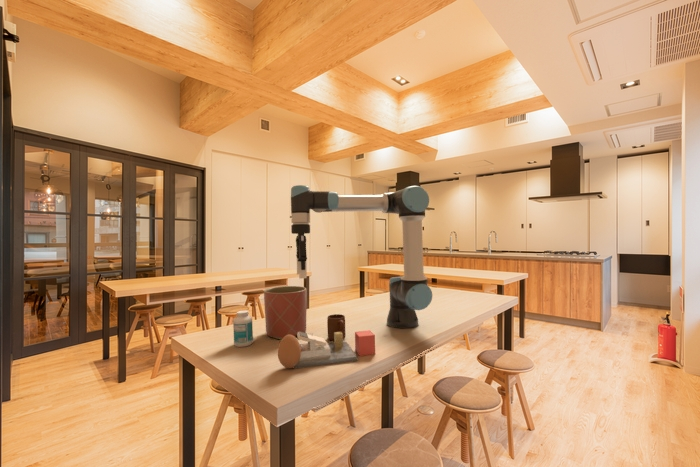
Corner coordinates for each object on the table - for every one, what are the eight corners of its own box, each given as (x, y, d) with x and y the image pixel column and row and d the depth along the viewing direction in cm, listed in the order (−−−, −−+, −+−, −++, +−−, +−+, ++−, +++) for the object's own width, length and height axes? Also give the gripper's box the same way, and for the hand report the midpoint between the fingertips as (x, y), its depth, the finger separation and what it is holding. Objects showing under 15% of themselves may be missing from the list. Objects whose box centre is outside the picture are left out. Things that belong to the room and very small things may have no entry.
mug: (352, 342, 129) (351, 319, 129) (334, 345, 126) (334, 322, 126) (341, 334, 140) (341, 313, 140) (325, 337, 137) (324, 315, 137)
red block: (370, 348, 122) (369, 330, 122) (375, 354, 116) (374, 334, 116) (355, 350, 121) (354, 331, 121) (359, 355, 115) (359, 336, 115)
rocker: (323, 341, 117) (324, 337, 117) (325, 346, 111) (326, 342, 111) (296, 334, 114) (298, 330, 114) (298, 339, 109) (299, 335, 109)
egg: (300, 371, 102) (299, 337, 102) (276, 373, 101) (275, 339, 102) (302, 362, 110) (301, 330, 110) (279, 363, 109) (279, 331, 109)
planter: (277, 343, 130) (276, 295, 131) (257, 333, 145) (256, 289, 145) (315, 333, 143) (314, 289, 143) (293, 325, 157) (292, 284, 157)
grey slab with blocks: (346, 345, 126) (346, 325, 126) (357, 360, 111) (356, 337, 111) (290, 351, 121) (289, 330, 121) (293, 368, 105) (292, 344, 105)
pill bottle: (247, 340, 136) (247, 308, 136) (256, 344, 130) (255, 311, 131) (230, 344, 130) (230, 311, 131) (238, 348, 125) (238, 314, 125)
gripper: (289, 225, 140) (290, 273, 140) (293, 222, 116) (294, 280, 116) (306, 225, 142) (307, 272, 142) (313, 222, 118) (314, 279, 118)
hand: (301, 276), depth 129 cm, fingers open, 13 cm apart
